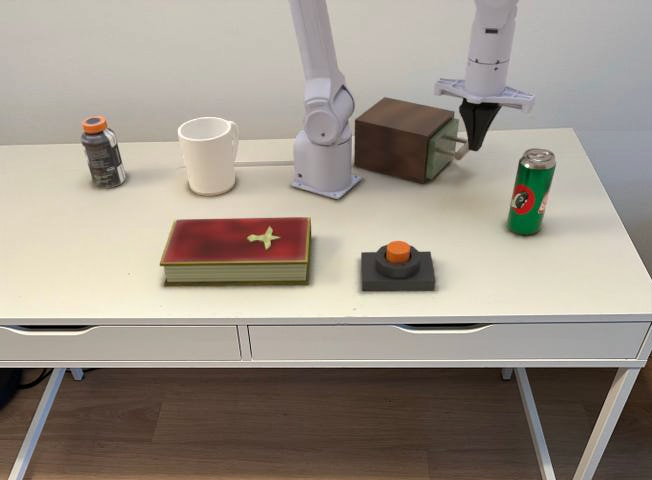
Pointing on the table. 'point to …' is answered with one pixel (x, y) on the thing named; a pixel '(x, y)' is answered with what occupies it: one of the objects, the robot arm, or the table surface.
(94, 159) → the pill bottle
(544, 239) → the table surface
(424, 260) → the button block
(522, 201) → the soda can
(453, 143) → the drawer
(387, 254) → the button
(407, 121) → the cabinet
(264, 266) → the hardcover book
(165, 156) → the table surface
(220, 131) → the mug
